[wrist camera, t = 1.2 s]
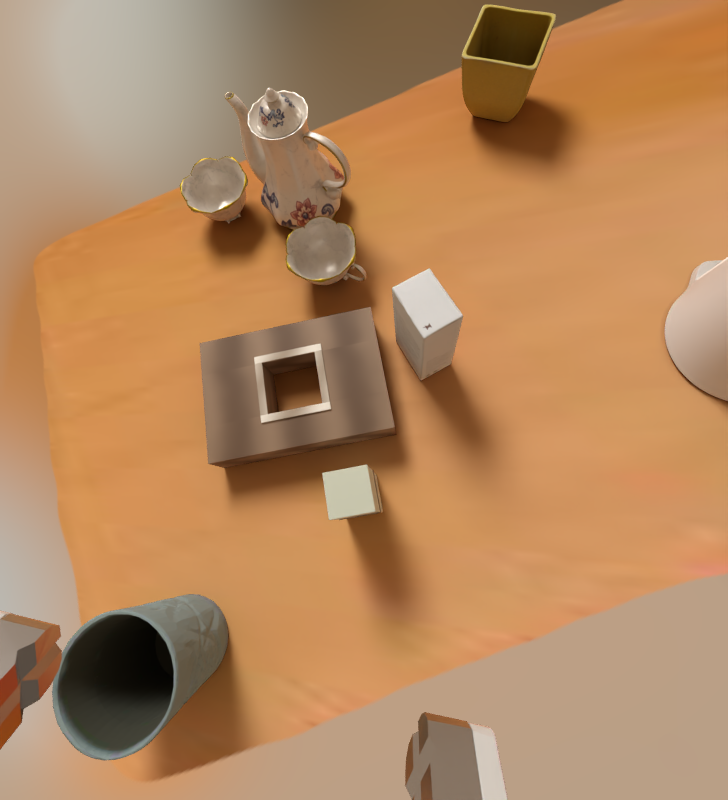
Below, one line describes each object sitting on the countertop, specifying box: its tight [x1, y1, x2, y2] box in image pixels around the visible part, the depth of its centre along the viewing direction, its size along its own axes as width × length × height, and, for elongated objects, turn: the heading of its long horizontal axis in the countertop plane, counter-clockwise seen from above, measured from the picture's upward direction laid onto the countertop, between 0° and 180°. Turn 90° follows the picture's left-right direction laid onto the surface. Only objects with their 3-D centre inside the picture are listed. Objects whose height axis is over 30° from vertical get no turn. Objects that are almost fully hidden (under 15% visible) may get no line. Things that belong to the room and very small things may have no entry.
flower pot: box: [462, 5, 556, 122], centre depth 53 cm, size 9×9×9 cm
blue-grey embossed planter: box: [52, 594, 228, 760], centre depth 38 cm, size 10×10×12 cm
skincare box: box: [392, 269, 463, 380], centre depth 43 cm, size 6×4×12 cm
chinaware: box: [180, 88, 367, 285], centre depth 49 cm, size 28×17×17 cm, turn 59°
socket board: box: [200, 307, 396, 468], centre depth 47 cm, size 20×14×4 cm
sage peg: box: [322, 465, 383, 520], centre depth 41 cm, size 4×4×10 cm
